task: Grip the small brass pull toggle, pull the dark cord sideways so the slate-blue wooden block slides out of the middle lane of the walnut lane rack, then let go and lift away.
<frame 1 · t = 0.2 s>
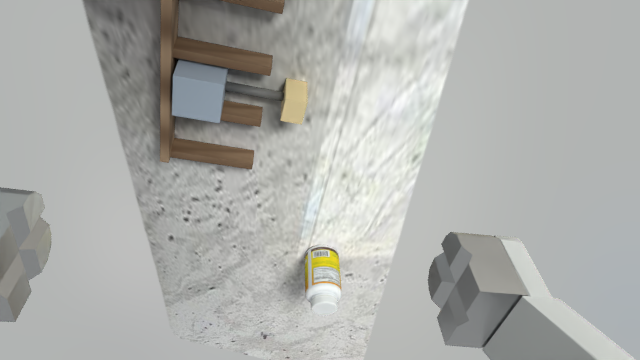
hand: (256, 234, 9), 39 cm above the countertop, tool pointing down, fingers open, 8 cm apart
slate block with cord: (204, 74, 51), on the countertop
walnut lane rack: (222, 77, 52), on the countertop
supplement bottle: (321, 252, 76), on the countertop
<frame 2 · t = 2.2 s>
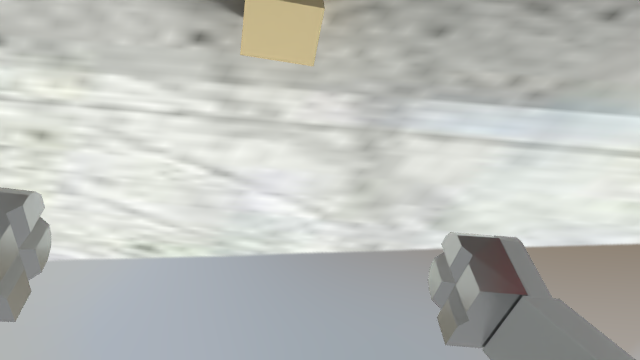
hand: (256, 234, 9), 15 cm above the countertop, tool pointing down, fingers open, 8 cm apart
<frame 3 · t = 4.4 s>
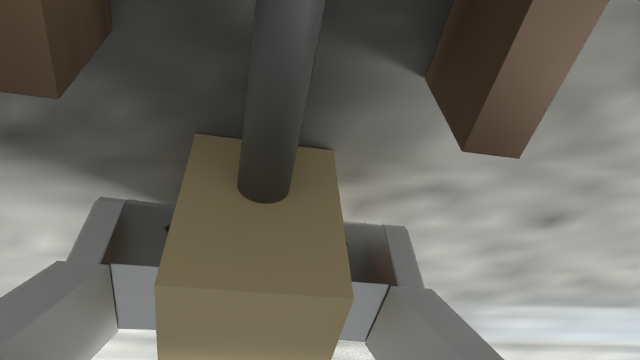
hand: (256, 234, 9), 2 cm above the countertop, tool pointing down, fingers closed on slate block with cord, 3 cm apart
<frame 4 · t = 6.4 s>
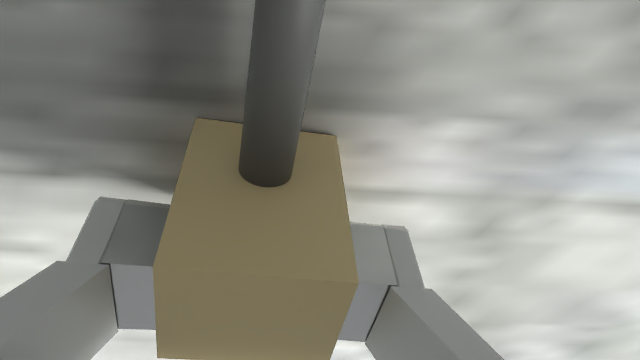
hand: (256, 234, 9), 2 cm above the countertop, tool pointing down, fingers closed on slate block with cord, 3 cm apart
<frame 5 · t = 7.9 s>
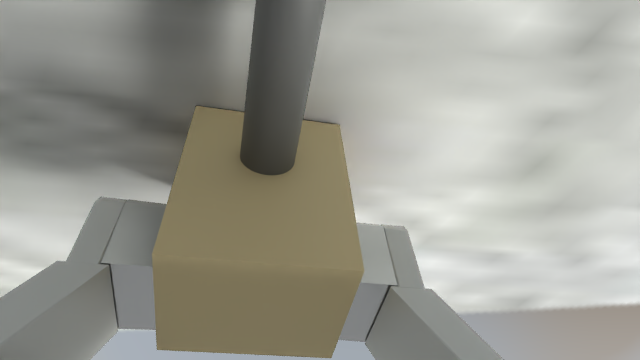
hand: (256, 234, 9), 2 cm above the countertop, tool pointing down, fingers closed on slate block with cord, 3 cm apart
when the fingers open (2 cm above the countertop, at t = 8.6 s): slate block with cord stays where it is, on the countertop.
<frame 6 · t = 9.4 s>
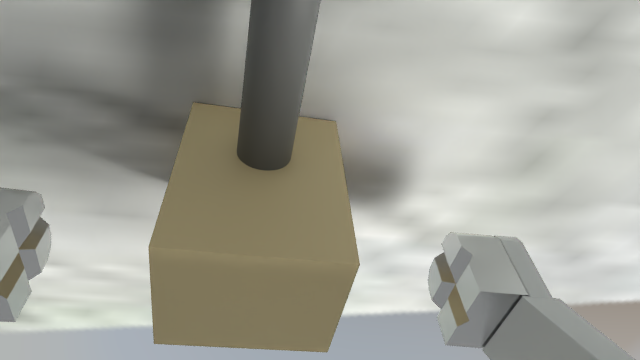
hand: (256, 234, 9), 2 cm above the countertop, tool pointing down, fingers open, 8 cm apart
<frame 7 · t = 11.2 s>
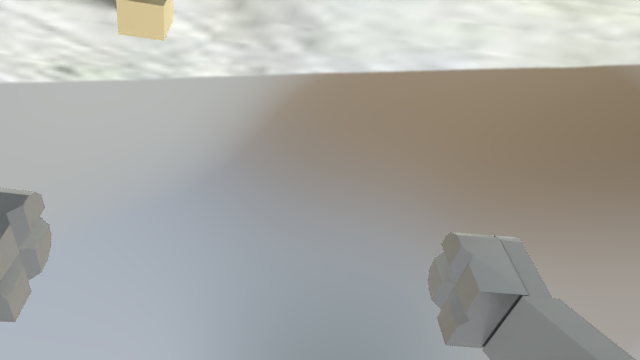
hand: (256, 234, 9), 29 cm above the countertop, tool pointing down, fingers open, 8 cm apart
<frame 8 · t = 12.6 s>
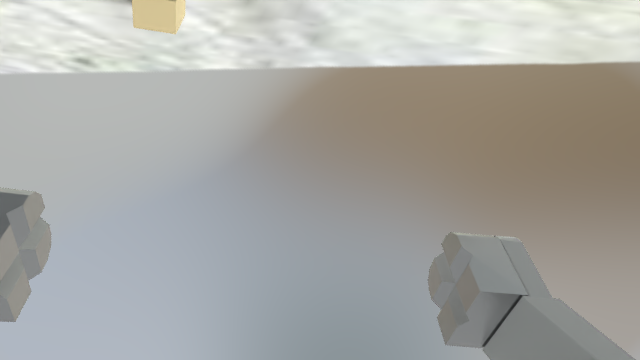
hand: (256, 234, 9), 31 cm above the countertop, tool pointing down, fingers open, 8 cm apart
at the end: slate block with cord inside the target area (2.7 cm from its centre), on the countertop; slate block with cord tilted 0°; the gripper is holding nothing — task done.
